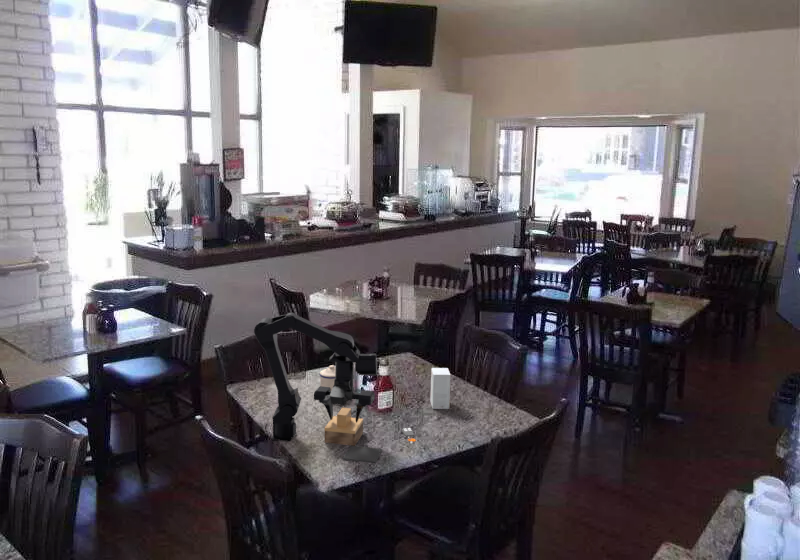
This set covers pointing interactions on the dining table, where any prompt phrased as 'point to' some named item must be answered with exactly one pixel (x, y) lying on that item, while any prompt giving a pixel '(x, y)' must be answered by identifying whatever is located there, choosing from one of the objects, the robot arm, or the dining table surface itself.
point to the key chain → (408, 434)
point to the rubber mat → (362, 454)
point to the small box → (440, 388)
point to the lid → (344, 422)
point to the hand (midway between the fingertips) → (344, 420)
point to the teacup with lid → (327, 377)
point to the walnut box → (343, 437)
